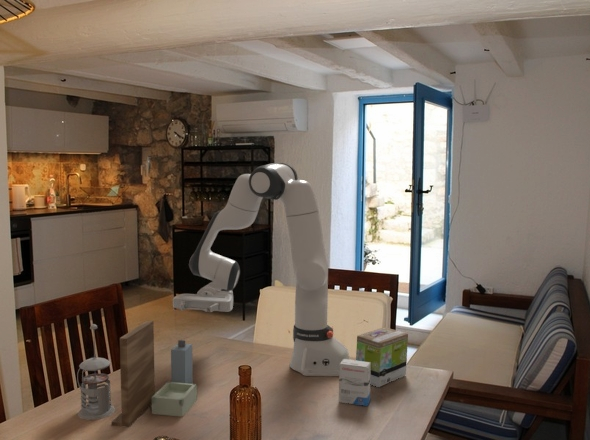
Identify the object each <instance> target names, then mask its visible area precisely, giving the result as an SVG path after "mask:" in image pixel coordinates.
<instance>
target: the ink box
mask: <svg viewBox="0 0 590 440" xmlns="http://www.w3.org/2000/svg"><path fill="white" fill-rule="evenodd" d="M349 359H350V358H349ZM349 359H343V360H342V361H341V363H340V364H339V376H338V403H341V402H342V404H348V403H349V404H348V405H355V404H356V405H357V406H361V405H363V407H367V406H368V405H369V404H370V401H371V385H370V376H371V362H364V361H356V359H355V360H354V359H352V360H349ZM356 405H355V406H356Z"/></svg>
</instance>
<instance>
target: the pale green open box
mask: <svg viewBox="0 0 590 440" xmlns="http://www.w3.org/2000/svg"><path fill="white" fill-rule="evenodd" d="M197 387H198V385H197V383H193V384H189V383H178V382H171V381H167V382H165V384H164V385H162V386H161V388H159V389H158V391H155V394H154V395H153V396H152V405H151V414H152V415H160V416H161V415H162V416H170V417H179V418H180V417H184V416H185V415H186V414H187V412H188V411H189V410H190V409H191V408H192V407H193V405H195V403H196V401H197V400H198V391H197V390H198V388H197Z"/></svg>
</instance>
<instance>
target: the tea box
mask: <svg viewBox="0 0 590 440" xmlns="http://www.w3.org/2000/svg"><path fill="white" fill-rule="evenodd" d="M408 340H409V333H407V332H404V331H400V330H396V329H392V328H390V327H386V326H383V327H380V328H377V329H374V330H372V331H369V332H365V333H361V334H358V335H357V336H356V349H355V350H356V351H355V353H356V355H355V360H356V361H364V362H371V376H370V384H371V385H370V386H372V385H373V387H375V386H376V387H375V388H378V387H379V388H381V387H383V386H384V385H386V384H389V382H390V383H391V381H392V382H393V381H397V380H399V379H401V378H403V376H404V377H406V376H405V375H407V362H408V359H407V358H408V343H409V342H408ZM398 378H399V379H398ZM396 379H397V380H396Z"/></svg>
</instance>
